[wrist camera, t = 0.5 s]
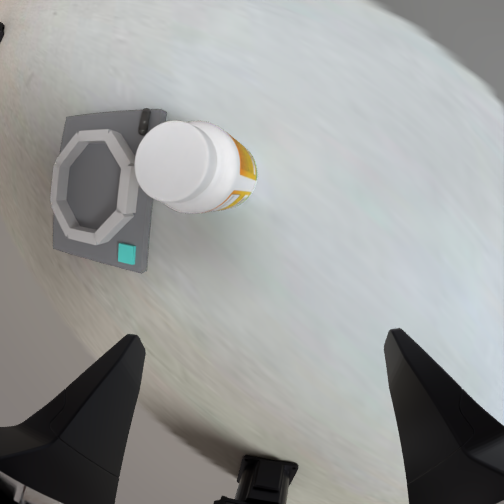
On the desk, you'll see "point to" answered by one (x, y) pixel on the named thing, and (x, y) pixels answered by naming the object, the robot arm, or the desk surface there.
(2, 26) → the portable speaker
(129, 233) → the charging dock
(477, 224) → the desk surface
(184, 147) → the supplement bottle
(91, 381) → the robot arm
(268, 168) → the desk surface
